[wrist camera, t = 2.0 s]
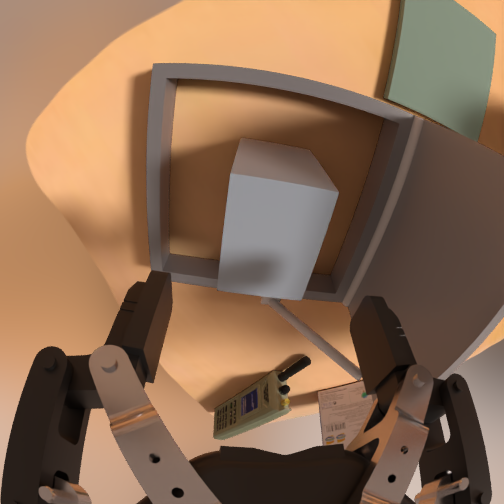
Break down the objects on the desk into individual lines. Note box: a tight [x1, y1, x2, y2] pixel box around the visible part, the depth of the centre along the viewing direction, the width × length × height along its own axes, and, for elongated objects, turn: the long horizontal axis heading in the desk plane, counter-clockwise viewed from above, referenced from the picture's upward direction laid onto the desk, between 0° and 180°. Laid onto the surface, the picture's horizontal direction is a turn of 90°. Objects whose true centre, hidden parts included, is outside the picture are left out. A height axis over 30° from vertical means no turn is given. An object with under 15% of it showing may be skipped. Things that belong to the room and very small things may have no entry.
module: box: [217, 138, 339, 301], centre depth 17 cm, size 5×7×8 cm
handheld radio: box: [213, 356, 311, 440], centre depth 37 cm, size 7×3×25 cm
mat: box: [383, 0, 496, 142], centre depth 12 cm, size 10×12×1 cm
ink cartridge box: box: [317, 381, 373, 450], centre depth 34 cm, size 10×6×14 cm, turn 110°
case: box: [146, 63, 504, 403], centre depth 15 cm, size 18×18×14 cm
